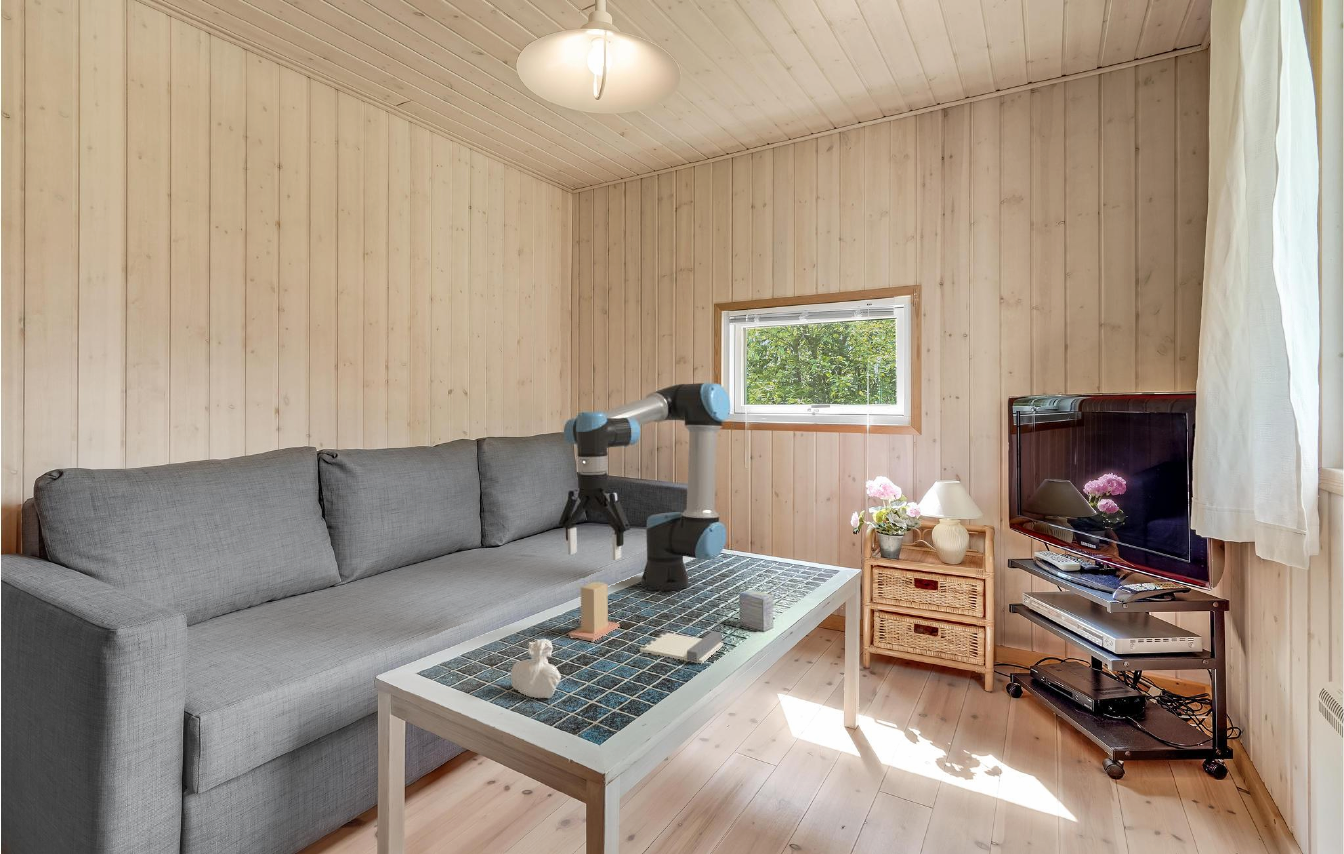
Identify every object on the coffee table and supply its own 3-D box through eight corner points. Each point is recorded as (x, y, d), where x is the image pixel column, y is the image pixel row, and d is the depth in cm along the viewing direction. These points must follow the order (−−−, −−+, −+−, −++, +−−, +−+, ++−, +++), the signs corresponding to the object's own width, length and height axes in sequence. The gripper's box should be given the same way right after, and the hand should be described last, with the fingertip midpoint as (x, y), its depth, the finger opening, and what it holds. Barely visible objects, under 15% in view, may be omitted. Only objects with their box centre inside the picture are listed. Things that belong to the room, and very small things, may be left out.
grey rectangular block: (773, 627, 166) (773, 594, 166) (763, 632, 163) (763, 598, 163) (749, 621, 172) (748, 589, 172) (738, 625, 169) (738, 592, 168)
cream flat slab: (637, 653, 149) (637, 641, 149) (666, 634, 162) (666, 623, 162) (700, 666, 142) (699, 653, 142) (724, 645, 154) (724, 633, 154)
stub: (568, 637, 160) (568, 589, 160) (596, 622, 170) (595, 578, 170) (592, 642, 156) (592, 593, 156) (619, 627, 167) (619, 581, 167)
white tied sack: (562, 708, 127) (582, 652, 133) (542, 697, 122) (564, 639, 128) (515, 696, 133) (536, 642, 139) (494, 685, 128) (517, 629, 133)
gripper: (544, 472, 165) (546, 554, 166) (626, 476, 153) (628, 564, 154) (562, 469, 171) (564, 548, 172) (642, 472, 160) (644, 557, 161)
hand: (594, 556), depth 163 cm, fingers open, 13 cm apart
